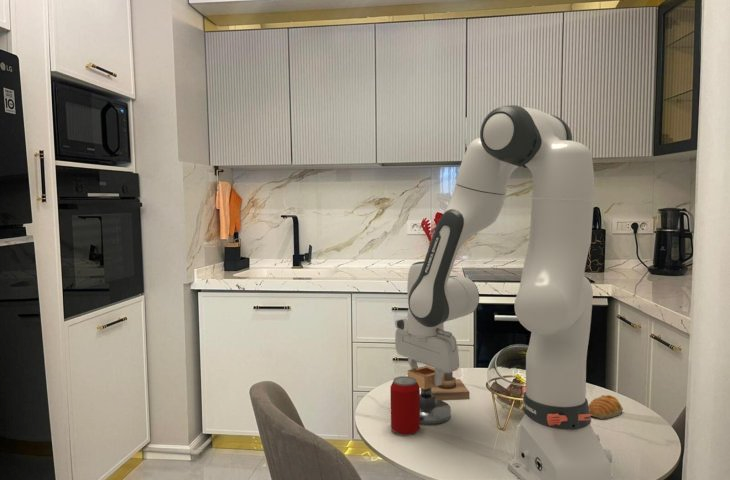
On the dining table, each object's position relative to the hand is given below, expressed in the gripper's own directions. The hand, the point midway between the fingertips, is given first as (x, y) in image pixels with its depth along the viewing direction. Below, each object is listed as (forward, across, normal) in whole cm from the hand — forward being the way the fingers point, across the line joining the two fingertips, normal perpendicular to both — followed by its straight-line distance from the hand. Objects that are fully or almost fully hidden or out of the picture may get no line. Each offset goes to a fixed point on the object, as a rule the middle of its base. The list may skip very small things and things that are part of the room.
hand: (426, 380), depth 124 cm
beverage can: (+9, -4, +10) cm, 14 cm away
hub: (+9, 0, 0) cm, 9 cm away
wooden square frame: (+1, 0, 0) cm, 1 cm away
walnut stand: (+9, +8, -14) cm, 19 cm away
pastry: (+9, -25, -37) cm, 45 cm away
